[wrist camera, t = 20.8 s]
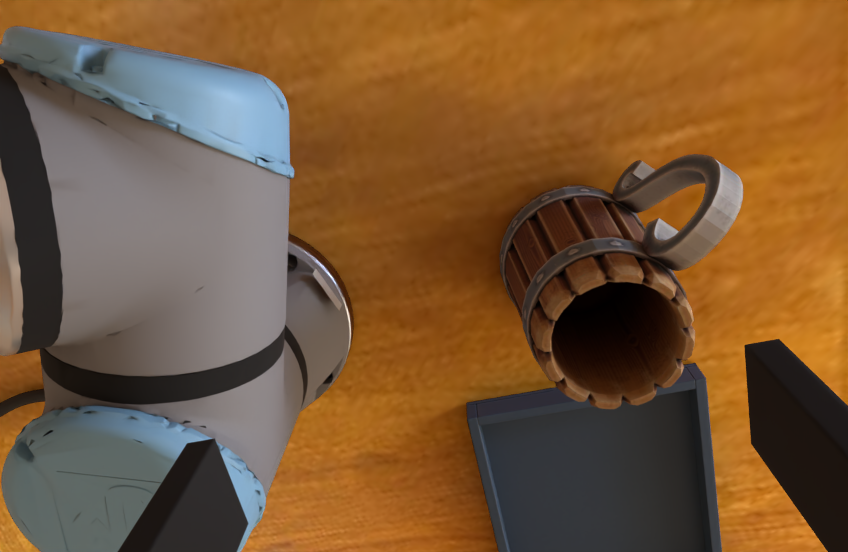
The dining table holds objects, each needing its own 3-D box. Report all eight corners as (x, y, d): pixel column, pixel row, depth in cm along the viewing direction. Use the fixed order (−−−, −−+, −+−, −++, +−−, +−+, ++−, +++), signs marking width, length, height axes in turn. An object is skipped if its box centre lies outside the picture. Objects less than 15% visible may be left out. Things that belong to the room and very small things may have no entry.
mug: (584, 342, 51) (633, 461, 37) (470, 271, 50) (477, 369, 36) (721, 174, 46) (837, 239, 32) (600, 89, 45) (667, 119, 31)
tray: (513, 602, 61) (516, 624, 59) (466, 402, 54) (466, 419, 51) (715, 575, 59) (726, 596, 56) (695, 362, 51) (706, 378, 49)
